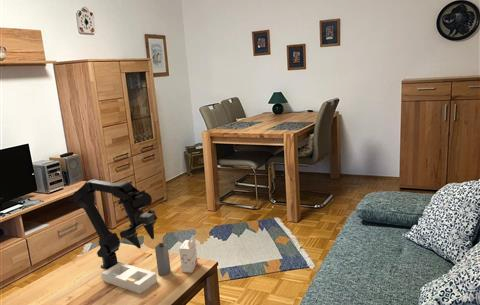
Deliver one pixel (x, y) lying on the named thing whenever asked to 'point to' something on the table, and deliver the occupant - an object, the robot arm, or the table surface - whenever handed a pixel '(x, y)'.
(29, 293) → the table surface
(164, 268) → the plug
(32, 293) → the table surface
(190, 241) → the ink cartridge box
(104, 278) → the socket block
